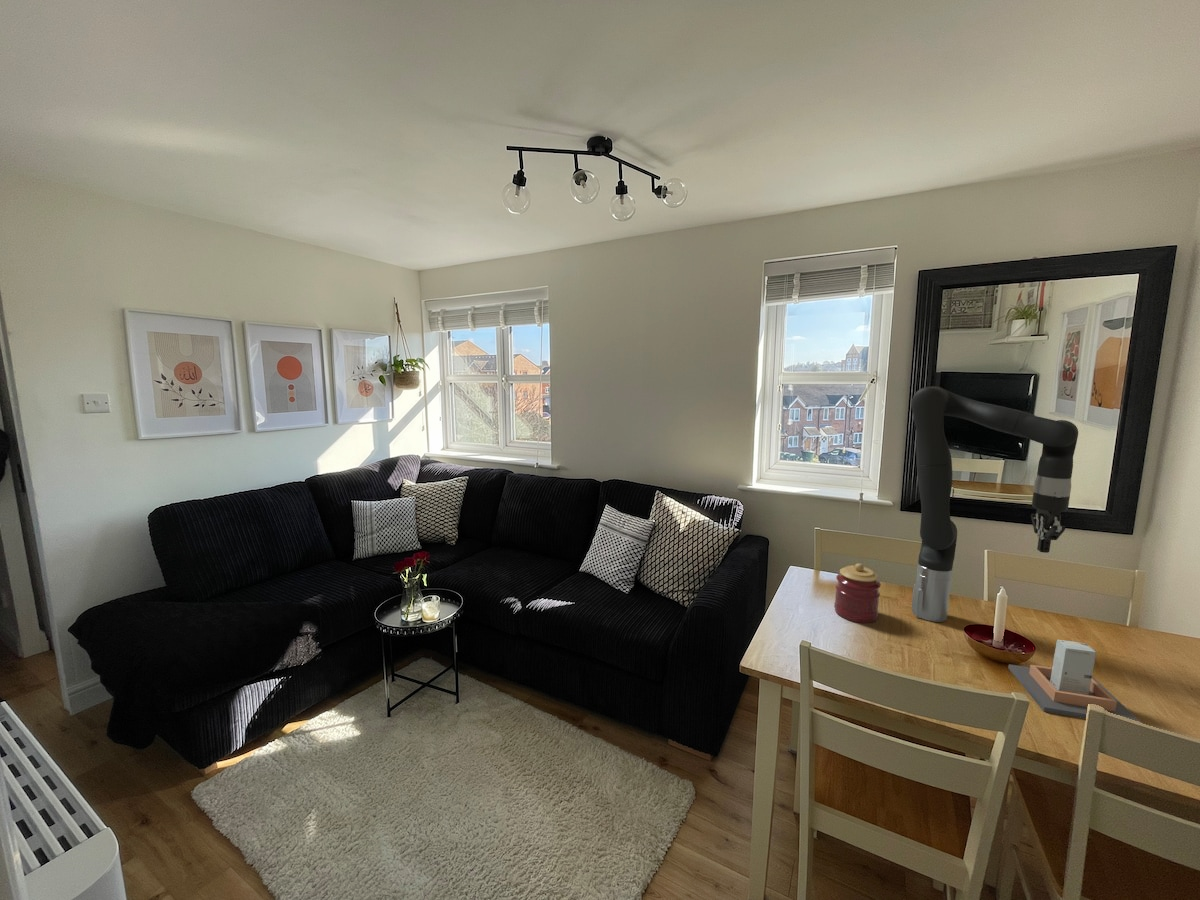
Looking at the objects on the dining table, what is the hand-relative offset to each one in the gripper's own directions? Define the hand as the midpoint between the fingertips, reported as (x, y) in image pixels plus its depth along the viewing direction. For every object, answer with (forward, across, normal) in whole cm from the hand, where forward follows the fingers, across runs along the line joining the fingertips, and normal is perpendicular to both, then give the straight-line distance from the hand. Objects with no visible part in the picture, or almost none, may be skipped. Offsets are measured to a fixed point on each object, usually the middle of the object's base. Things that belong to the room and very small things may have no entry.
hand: (1043, 551), depth 139 cm
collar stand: (+29, +24, -2) cm, 38 cm away
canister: (+29, -6, -45) cm, 54 cm away
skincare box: (+28, +24, -2) cm, 37 cm away
